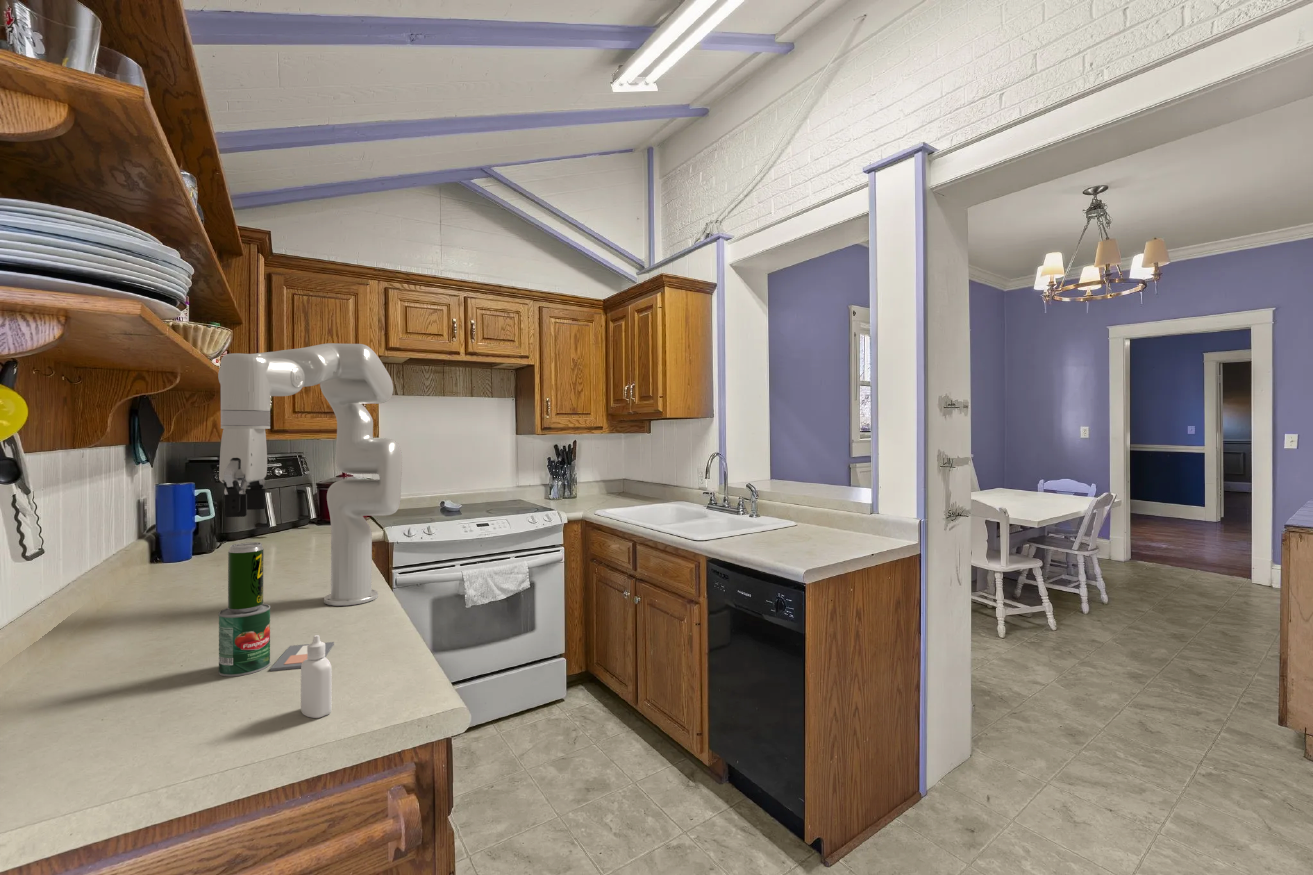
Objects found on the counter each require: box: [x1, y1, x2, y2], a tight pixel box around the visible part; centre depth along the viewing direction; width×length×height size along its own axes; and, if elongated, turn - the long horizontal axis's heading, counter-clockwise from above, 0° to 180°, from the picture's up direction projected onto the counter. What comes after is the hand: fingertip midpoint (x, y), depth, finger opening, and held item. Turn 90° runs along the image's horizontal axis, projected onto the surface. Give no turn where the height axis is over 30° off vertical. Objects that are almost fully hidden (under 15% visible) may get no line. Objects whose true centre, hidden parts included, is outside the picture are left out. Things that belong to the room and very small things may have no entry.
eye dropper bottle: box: [300, 634, 333, 719], centre depth 92 cm, size 4×6×12 cm
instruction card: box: [270, 641, 335, 672], centre depth 114 cm, size 12×8×1 cm, turn 17°
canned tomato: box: [218, 603, 271, 678], centre depth 108 cm, size 8×8×11 cm
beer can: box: [227, 541, 265, 613], centre depth 109 cm, size 5×5×12 cm
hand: (246, 512), depth 109 cm, fingers open, 9 cm apart
